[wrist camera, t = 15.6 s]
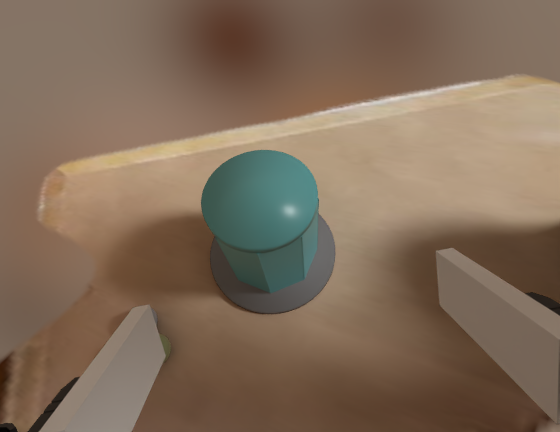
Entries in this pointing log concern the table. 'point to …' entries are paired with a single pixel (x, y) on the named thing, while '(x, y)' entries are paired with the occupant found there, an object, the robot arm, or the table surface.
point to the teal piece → (264, 217)
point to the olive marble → (165, 346)
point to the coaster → (284, 297)
